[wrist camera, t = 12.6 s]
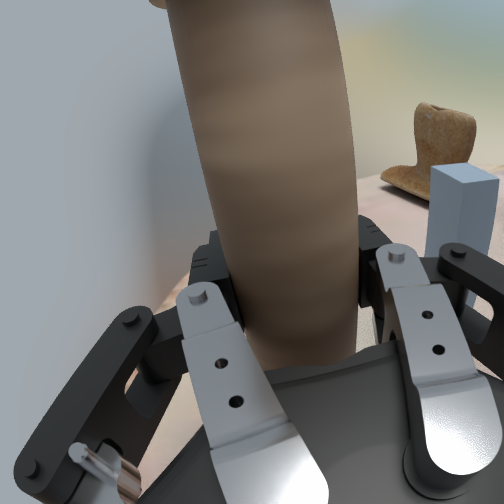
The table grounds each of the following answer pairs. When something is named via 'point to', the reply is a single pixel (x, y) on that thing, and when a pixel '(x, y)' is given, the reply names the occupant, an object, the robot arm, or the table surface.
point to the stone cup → (434, 147)
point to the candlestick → (276, 168)
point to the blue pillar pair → (461, 209)
